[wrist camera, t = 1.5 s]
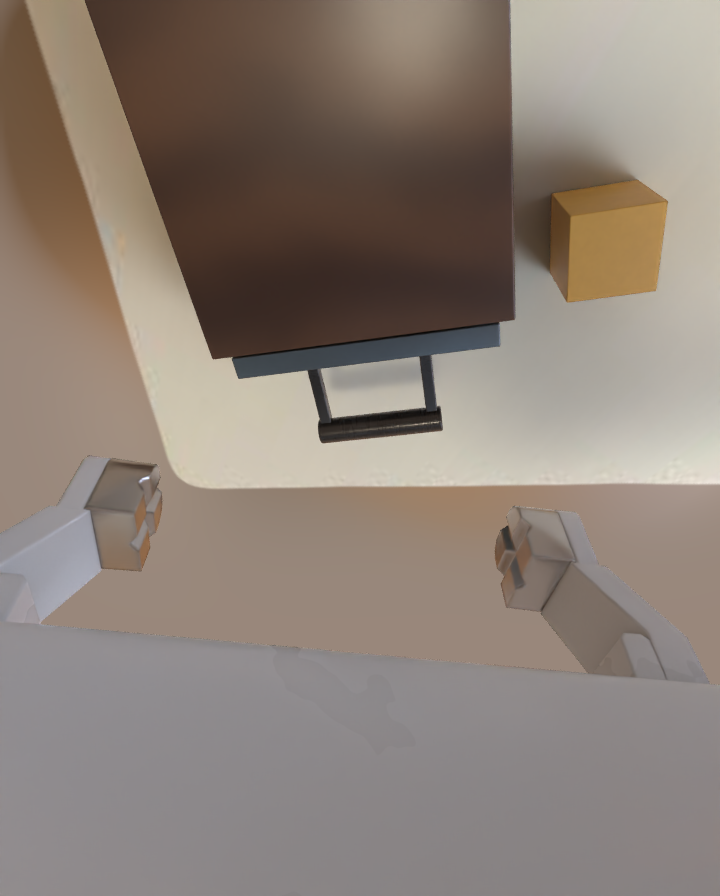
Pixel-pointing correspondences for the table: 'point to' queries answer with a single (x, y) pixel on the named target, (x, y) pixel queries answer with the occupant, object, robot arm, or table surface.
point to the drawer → (366, 353)
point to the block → (606, 240)
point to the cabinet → (324, 161)
